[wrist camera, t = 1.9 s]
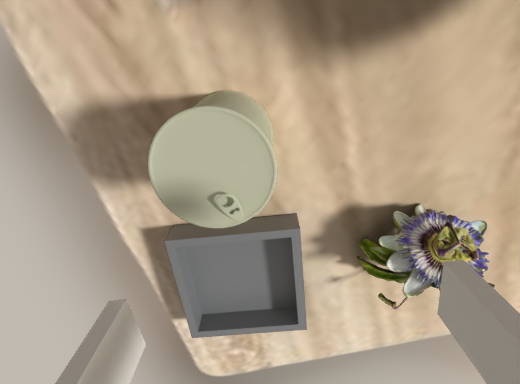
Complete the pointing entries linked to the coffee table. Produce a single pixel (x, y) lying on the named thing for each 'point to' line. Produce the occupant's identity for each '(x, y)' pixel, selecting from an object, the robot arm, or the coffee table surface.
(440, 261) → the passion flower
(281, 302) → the tray
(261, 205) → the can
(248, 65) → the coffee table surface
